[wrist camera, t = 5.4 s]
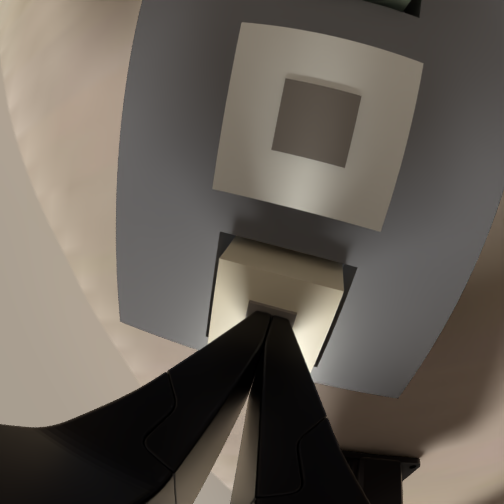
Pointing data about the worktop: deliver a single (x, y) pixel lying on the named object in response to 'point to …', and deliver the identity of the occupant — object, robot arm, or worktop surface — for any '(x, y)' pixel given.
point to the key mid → (316, 123)
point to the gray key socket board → (301, 222)
